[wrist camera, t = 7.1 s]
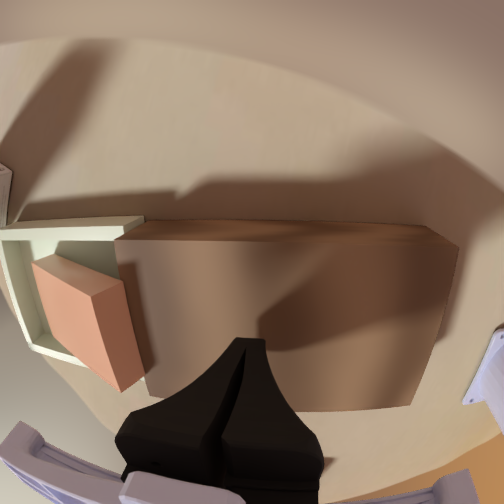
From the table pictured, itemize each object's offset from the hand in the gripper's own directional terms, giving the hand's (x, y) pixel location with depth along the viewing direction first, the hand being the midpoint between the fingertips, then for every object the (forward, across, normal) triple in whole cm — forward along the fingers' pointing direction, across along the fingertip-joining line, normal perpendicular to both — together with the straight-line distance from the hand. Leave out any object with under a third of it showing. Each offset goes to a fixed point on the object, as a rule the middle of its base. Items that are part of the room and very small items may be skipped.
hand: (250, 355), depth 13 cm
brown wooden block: (+5, -2, 0) cm, 5 cm away
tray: (+5, +13, 0) cm, 14 cm away
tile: (+3, +10, 0) cm, 11 cm away
